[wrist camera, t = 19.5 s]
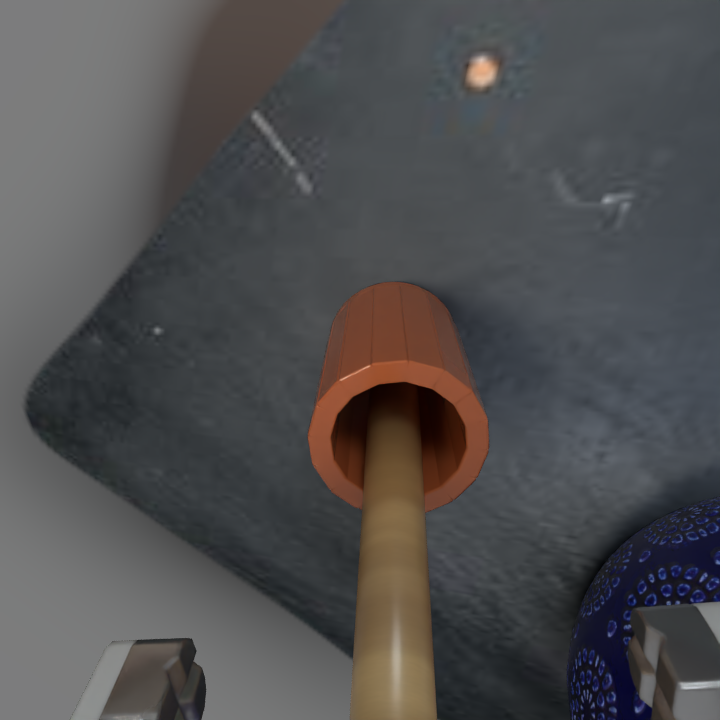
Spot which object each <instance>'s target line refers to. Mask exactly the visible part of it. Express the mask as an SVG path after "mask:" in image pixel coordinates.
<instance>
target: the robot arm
mask: <svg viewBox="0 0 720 720" xmlns="http://www.w3.org/2000/svg"><path fill="white" fill-rule="evenodd" d="M630 625H631V627H632V630H633V632H634V634H635V635H634V636H633V637H632V638H631V639H630V640H629V641H628V662H629V668H630V673H631V676H632V679H633V683H634V686H635V688H636V690H637V693H638V695H639V698H640V699H641V700H642V701H644V702H645V703H646V704H647V705H649V706H650V707H651V708H652V715H651V720H720V602H709V603H694V604H676V605H664V606H651V607H638V608H633V610H632V612H631V615H630ZM195 654H196V648H195V646H194V644H193V641H192V639H190V638H176V639H150V640H133V641H113V642H111V643H110V644H109V645H108V646H107V647H106V649H105V650H104V652H103V654H102V656H101V658H100V660H99V662H98V664H97V666H96V668H95V670H94V672H93V674H92V676H91V678H90V680H89V682H88V684H87V686H86V688H85V690H84V692H83V694H82V696H81V698H80V700H79V702H78V704H77V706H76V708H75V710H74V712H73V714H72V716H71V718H70V720H201V719H202V715H203V711H204V707H205V696H206V684H205V676H204V673H203V670H202V668H201V667H200V666H199V665H197V664H196V663H195V662H193V660H194V657H195Z"/></svg>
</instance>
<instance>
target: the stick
mask: <svg viewBox="0 0 720 720" xmlns="http://www.w3.org/2000/svg"><path fill="white" fill-rule="evenodd" d="M350 706H351V707H350V720H437V712H436V694H435V676H434V659H433V641H432V623H431V606H430V588H429V570H428V553H427V535H426V517H425V500H424V482H423V464H422V447H421V429H420V411H419V394H418V385H415V384H411V383H408V382H397V383H387V384H378V385H376V386H374V387H372V388H370V389H369V403H368V420H367V437H366V453H365V470H364V487H363V504H362V520H361V537H360V554H359V571H358V588H357V604H356V621H355V638H354V655H353V672H352V688H351V705H350Z"/></svg>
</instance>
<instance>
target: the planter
mask: <svg viewBox="0 0 720 720" xmlns="http://www.w3.org/2000/svg"><path fill="white" fill-rule="evenodd" d="M709 602H720V497H716V498H712V499H708V500H704V501H701V502H698V503H694V504H692V505H689V506H686V507H683V508H681V509H678V510H676V511H674V512H672V513H669V514H667V515H665V516H663V517H661V518H660V519H658V520H656V521H654V522H652V523H651V524H649V525H647V526H646V527H644V528H643V529H641V530H640V531H639V532H637V533H636V534H634V535H633V536H632V537H630V538H629V539H628V540H627V541H626V542H624V543H623V544H622V545H621V546H620V547H619V548H618V549H617V550H616V551H615V552H614V553H613V554H612V555H611V556H610V557H609V559H608V560H607V561H606V562H605V563H604V565H603V566H602V567H601V569H600V570H599V572H598V573H597V575H596V577H595V578H594V580H593V582H592V583H591V585H590V587H589V589H588V590H587V592H586V594H585V596H584V598H583V601H582V603H581V606H580V609H579V612H578V615H577V618H576V621H575V625H574V628H573V632H572V636H571V642H570V650H569V657H568V665H567V688H568V698H569V709H570V718H571V720H651V715H652V708H651V707H650V706H649V705H647V704H646V703H645V702H644V701H642V700H641V699H640V698H639V695H638V693H637V690H636V688H635V686H634V683H633V679H632V676H631V673H630V668H629V662H628V641H629V640H630V639H631V638H632V637H633V636H634V635H635V634H634V632H633V630H632V627H631V625H630V615H631V612H632V610H633V608H638V607H651V606H664V605H676V604H694V603H709Z"/></svg>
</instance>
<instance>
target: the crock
mask: <svg viewBox="0 0 720 720" xmlns="http://www.w3.org/2000/svg"><path fill="white" fill-rule="evenodd" d="M397 382H408V383H411V384H415V385H418V394H419V411H420V429H421V447H422V464H423V482H424V500H425V513H426V512H429V511H431V510H434V509H436V508H438V507H441V506H443V505H445V504H448V503H450V502H452V501H453V500H455V499H456V498H457V497H458V496H459V495H460V494H461V493H463V492H464V491H465V490H466V489H467V488H468V487H469V486H470V485H471V484H472V483H473V482H474V481H475V480H476V478H477V477H478V475H479V473H480V470H481V468H482V466H483V463H484V461H485V459H486V457H487V454H488V450H489V425H488V419H487V415H486V412H485V409H484V406H483V403H482V400H481V397H480V394H479V391H478V388H477V385H476V382H475V379H474V376H473V373H472V370H471V367H470V364H469V361H468V358H467V355H466V352H465V349H464V346H463V344H462V341H461V338H460V335H459V332H458V329H457V327H456V325H455V323H454V320H453V318H452V316H451V314H450V312H449V311H448V309H447V308H446V306H445V305H444V304H443V303H442V302H441V301H440V300H439V299H438V298H437V297H436V296H435V295H433V294H432V293H430V292H429V291H427V290H425V289H423V288H421V287H418V286H416V285H413V284H408V283H402V282H385V283H380V284H376V285H372V286H369V287H367V288H365V289H363V290H361V291H359V292H358V293H356V294H354V295H353V296H352V297H351V298H349V299H348V300H347V301H346V302H345V303H344V304H343V306H342V307H341V308H340V310H339V311H338V313H337V314H336V316H335V318H334V321H333V323H332V326H331V330H330V334H329V338H328V342H327V346H326V351H325V355H324V360H323V365H322V369H321V374H320V379H319V383H318V388H317V393H316V397H315V402H314V407H313V411H312V416H311V421H310V425H309V430H308V443H309V448H310V454H311V459H312V464H313V465H314V467H315V469H316V470H317V472H318V473H319V475H320V476H321V478H322V479H323V480H324V482H325V483H326V485H327V486H328V488H329V489H330V490H331V492H332V493H334V494H335V495H337V496H338V497H340V498H341V499H343V500H344V501H346V502H348V503H349V504H351V505H352V506H354V507H355V508H359V509H361V510H362V504H363V487H364V470H365V453H366V437H367V420H368V403H369V389H370V388H372V387H374V386H376V385H378V384H387V383H397Z"/></svg>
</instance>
